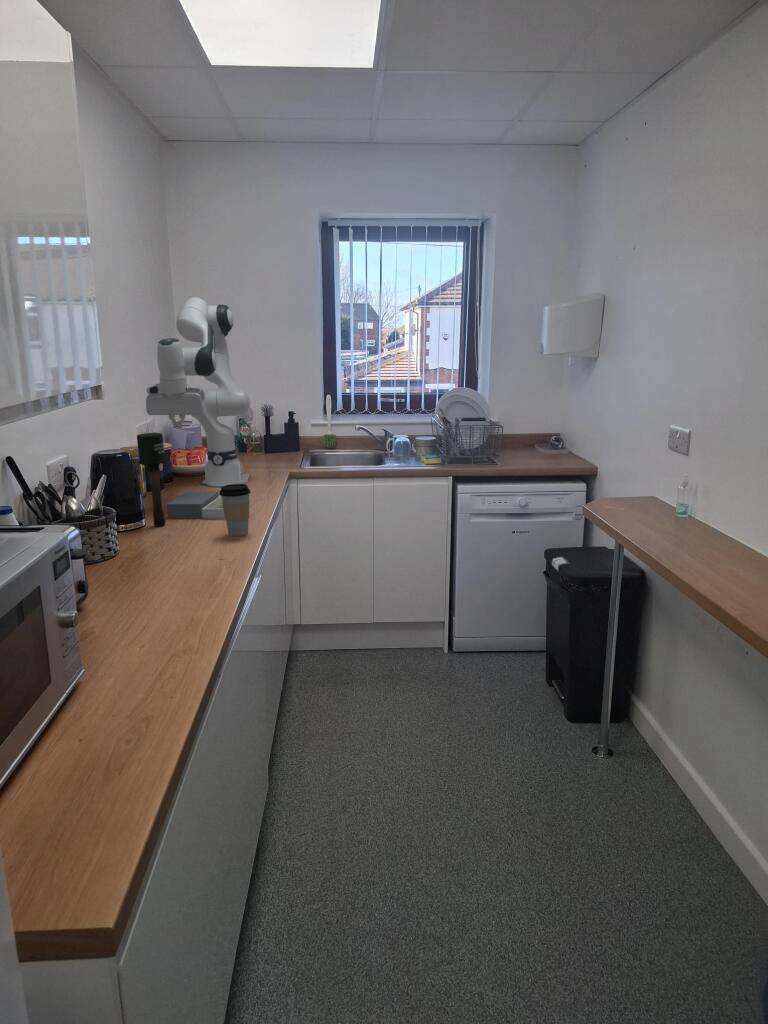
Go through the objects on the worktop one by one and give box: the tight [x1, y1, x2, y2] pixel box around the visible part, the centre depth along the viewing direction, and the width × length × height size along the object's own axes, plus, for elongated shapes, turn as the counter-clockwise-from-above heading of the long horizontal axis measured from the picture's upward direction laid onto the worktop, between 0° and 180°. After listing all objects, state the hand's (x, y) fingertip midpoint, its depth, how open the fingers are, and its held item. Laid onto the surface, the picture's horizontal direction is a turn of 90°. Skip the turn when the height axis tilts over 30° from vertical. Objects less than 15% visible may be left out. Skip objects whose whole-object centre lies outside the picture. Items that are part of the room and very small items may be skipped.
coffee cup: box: [218, 483, 251, 537], centre depth 206 cm, size 9×9×15 cm
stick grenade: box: [136, 432, 168, 528], centre depth 215 cm, size 8×9×30 cm
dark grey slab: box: [165, 491, 220, 519], centre depth 235 cm, size 18×12×5 cm, turn 175°
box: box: [201, 495, 225, 520], centre depth 234 cm, size 20×10×4 cm, turn 175°
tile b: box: [214, 503, 223, 508], centre depth 230 cm, size 6×6×2 cm
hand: (178, 427), depth 233 cm, fingers closed
